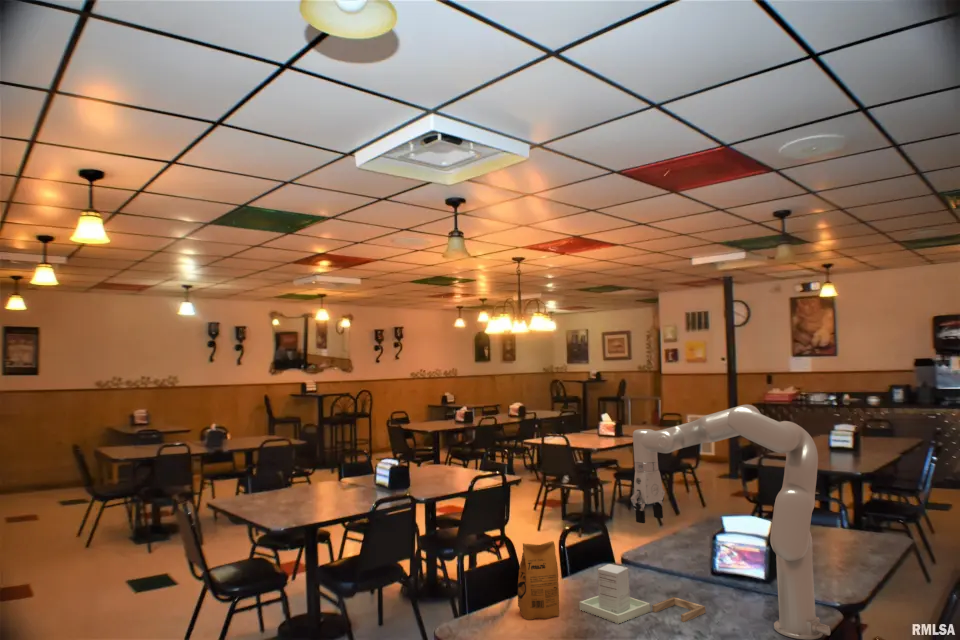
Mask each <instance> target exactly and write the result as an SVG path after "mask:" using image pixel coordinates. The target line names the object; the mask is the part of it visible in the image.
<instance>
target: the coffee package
mask: <svg viewBox="0 0 960 640" xmlns="http://www.w3.org/2000/svg"><path fill="white" fill-rule="evenodd" d="M522 551H523V552H521V553H522V556H521V560H520V564H519V569H518V579H517V580H518V581H517V607H518V608H519V609H518V610H519V612H520V614H521V616H522V618H523V619H525V620H527V621H530V620H531V621H532V620H534V619H543V620H547V619H551V618H555V617H559V616H560V592H559V589H560V587H559V586H560V583H559V568H558V561H557V554H556V545H555V542H554V541H553V540H552V541H548V542H545V543H541V544H532V543H522Z"/></svg>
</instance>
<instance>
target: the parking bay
mask: <svg viewBox="0 0 960 640" xmlns="http://www.w3.org/2000/svg"><path fill="white" fill-rule="evenodd" d="M651 606H652V607H651V611H652V612H651V613H658V612H660V611H663V610H665V608H666V609H668V608H670V607H673V606H678V607H680V608H683V609H687V610H689V611H687V612H684V613H682V614H680V622H681V621H682V622H681V623H686V622H688V620H689V621H691V620H693V619H695V617H696V618H698V617H700V616H702V615H704V613H705V614H706V612H707V611H706V605H702V604H700V603H699V604H698V603H696V602H695V603H694V602H692V601H688V600H685V599H682V598H679V597H675V596H672V597H670V598H667V599H665V600H662V601H660V602H657V603H654V604H652V605H651ZM699 615H700V616H699ZM697 616H698V617H697ZM690 619H691V620H690Z"/></svg>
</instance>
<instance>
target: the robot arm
mask: <svg viewBox="0 0 960 640" xmlns="http://www.w3.org/2000/svg"><path fill="white" fill-rule="evenodd" d="M738 436H741V437H743V438H745V439H747V440H749V441H751V442H753V443H755V444H757V445H759V446H762V447H764V448H766V449H768V450H770V451H772V452H775V453H779V454H785V455H786V456H785V457H786V458H785V463H784V474H783V481H782V487H781V489H780V491H778V493H777V495H776V497H775V502H774V504H773V513H772V521H771V529H770V537H769V542H770V545H771V548H772V551H773V553H775V555H776V558H775V561H776V579H777V580H776V581H777V598H778V599H777V600H778V616H779V619H778V620H776V621H775V622H773V628H774V630H775V631H776V632H777V633H779V634H781V635H783V636H785V637H789V638H792V639H797V640H818V639H820V638H822V637H823V635H825V636H831V628H830V625H827V624H824V623H822V622H820V621H821V620H820V617H818V616H816V602H815V601H816V598H815V583H814V566H813V562H814V561H813V538H812V533H811V521H812V513H813V511H814V508H815V504H816V499H815V498H816V488H817V487H816V486H817V477H818V476H817V475H818V465H819V454H818V448H817V445H816V443H815V441H814V438H812V436H811V435H810V434H809V432H808V431H807V430H805V429H804V428H803V427H802V426H800V425H798V424H797V423H796V422H793V421H788V420H783V421H779V420H775V419H773V418H771V417H769V416H767V415H764V414H762V413H761V412H760V410H759V409H758V408H757V407H756V406H754V405H753V404H752V405H751V404H742V405H738V406H735V407H731V408H727V409H724V410H721V411H717V412H714V413H710V414H707V415H704V416H700V418H698V419H696V420H693V421H689V422H687V423H682V424H678V425H675V426H671V427H668V428H663V429H659V430H654V429H649V428H645V429H644V428H642V429H641V428H640V429H635V430H634V431H633V432H632V443H633V459H634V460H633V461H634V480H633V481H634V482H633V494H632V495H631V497H630V501H631V505H632V507H633V510H634V511H635V522H636V523H639V524H646V514H645V513H646V511H645V510H644V508H645V507H646V505H651V504H652V505H653V506H652V508H653V509H652V510H653V511H652V512H653V517H654V518H656V519H663V517H664V513H663V506H664V500H665V495H666V494H665V493H666V492H665V490H664V489H663V488H664V487H663V482H662V476H661V472H660V469H659V461H658V453H661V454H670V453H673V452H676V451H678V450H681V449H683V448H689V447H692V446H696V445H700V444H705V443H708V444H710V443H716V442H720V441H724V440H728V439H730V438H734V437H738Z"/></svg>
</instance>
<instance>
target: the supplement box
mask: <svg viewBox="0 0 960 640" xmlns="http://www.w3.org/2000/svg"><path fill="white" fill-rule="evenodd" d="M597 583H598V584H597V587H598V588H597V590H598V591H597V593H598V596H599V608H601V609H604V610H607V611H610V612H612V613H615V614H620V613H622V612H624V611H625V610H627V609H629V608H630V597H631V596H630V580H629V567H626V566H623V565H622V566H620V565H616V564H611V563H607V564H606V565H604V566H601V567H599V568H597Z"/></svg>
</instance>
